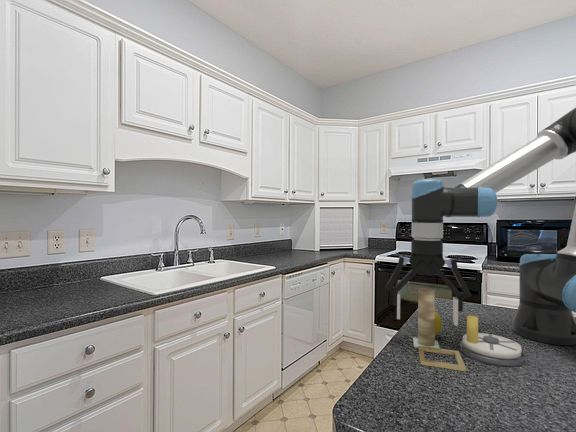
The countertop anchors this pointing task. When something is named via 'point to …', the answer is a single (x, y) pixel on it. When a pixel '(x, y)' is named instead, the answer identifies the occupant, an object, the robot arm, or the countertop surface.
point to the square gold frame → (440, 364)
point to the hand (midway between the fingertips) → (426, 320)
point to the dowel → (426, 316)
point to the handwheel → (489, 342)
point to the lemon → (437, 323)
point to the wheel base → (492, 358)
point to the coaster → (416, 344)
